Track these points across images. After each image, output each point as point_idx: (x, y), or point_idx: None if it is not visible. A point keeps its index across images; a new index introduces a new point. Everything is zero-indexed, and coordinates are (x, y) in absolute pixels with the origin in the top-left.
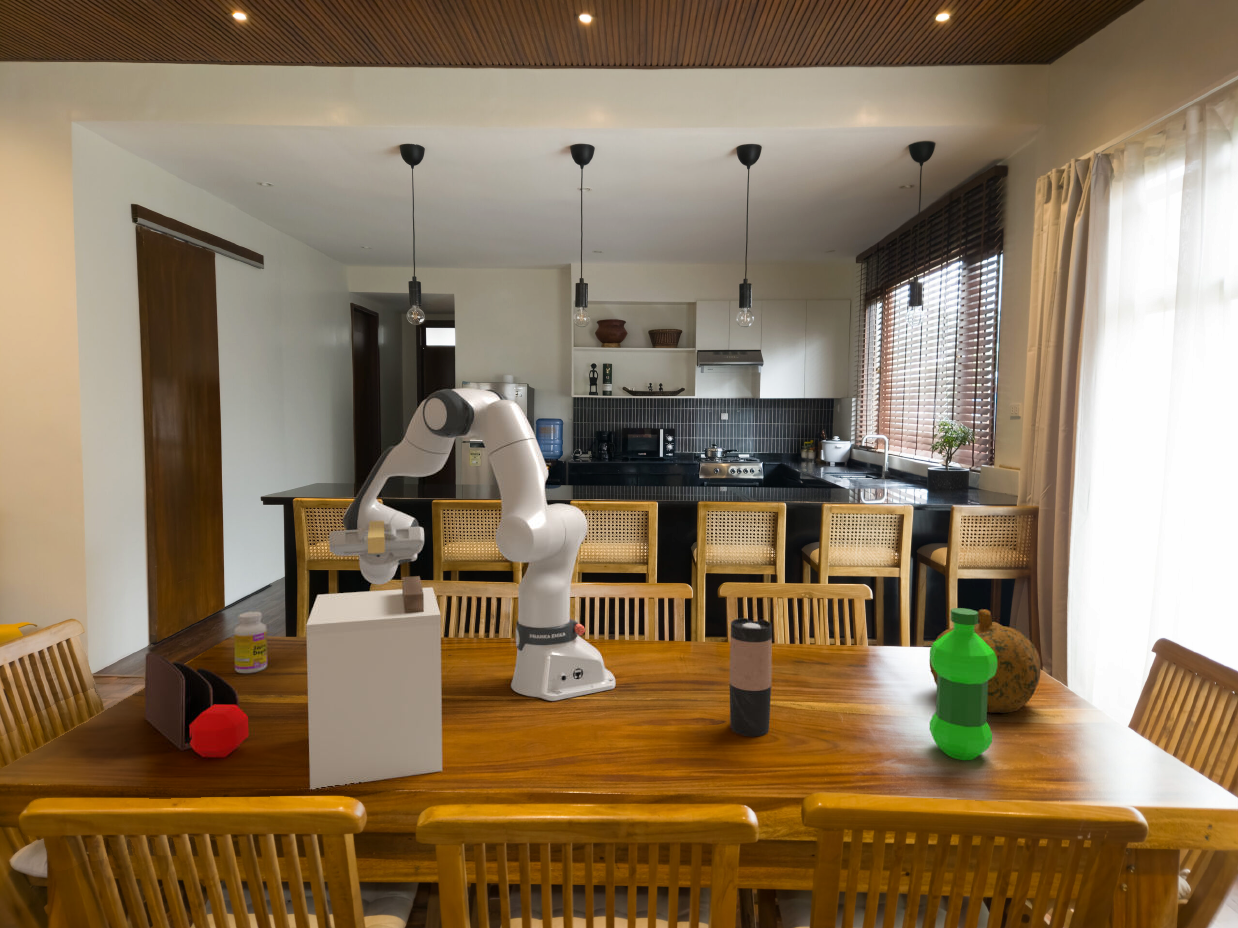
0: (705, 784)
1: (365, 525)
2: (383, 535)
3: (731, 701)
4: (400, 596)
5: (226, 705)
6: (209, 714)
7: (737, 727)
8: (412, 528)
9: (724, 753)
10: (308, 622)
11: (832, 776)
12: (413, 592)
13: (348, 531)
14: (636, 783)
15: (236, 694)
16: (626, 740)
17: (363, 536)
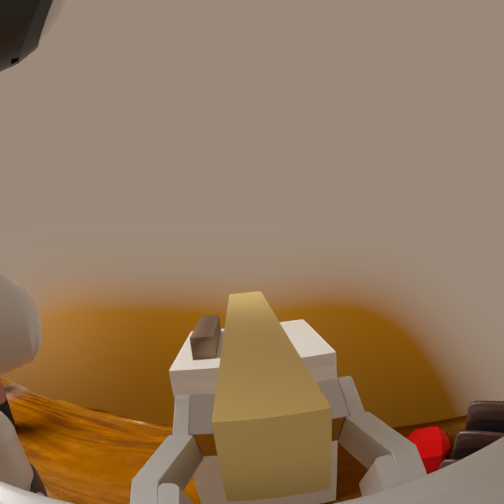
0: (78, 412)
1: (332, 379)
2: (230, 297)
3: (7, 413)
4: (220, 353)
5: (427, 438)
6: (428, 427)
7: (14, 425)
8: (23, 490)
9: (42, 422)
10: (303, 320)
11: (31, 401)
12: (209, 317)
13: (484, 448)
14: (105, 420)
15: (443, 460)
16: (70, 447)
17: (355, 452)
